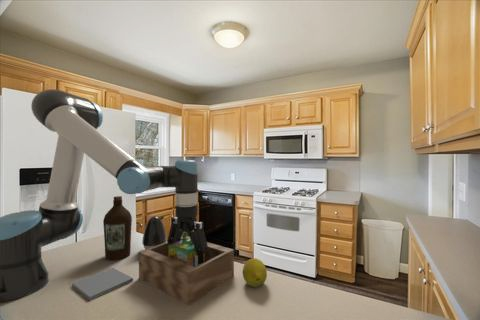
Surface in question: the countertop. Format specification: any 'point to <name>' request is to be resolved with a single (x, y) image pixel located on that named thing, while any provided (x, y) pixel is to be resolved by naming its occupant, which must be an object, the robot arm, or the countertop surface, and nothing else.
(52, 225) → the robot arm
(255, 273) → the lemon
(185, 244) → the chalk box
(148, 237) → the pump dispenser
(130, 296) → the countertop surface
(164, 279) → the walnut box
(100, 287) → the slate mat
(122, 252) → the olive oil
